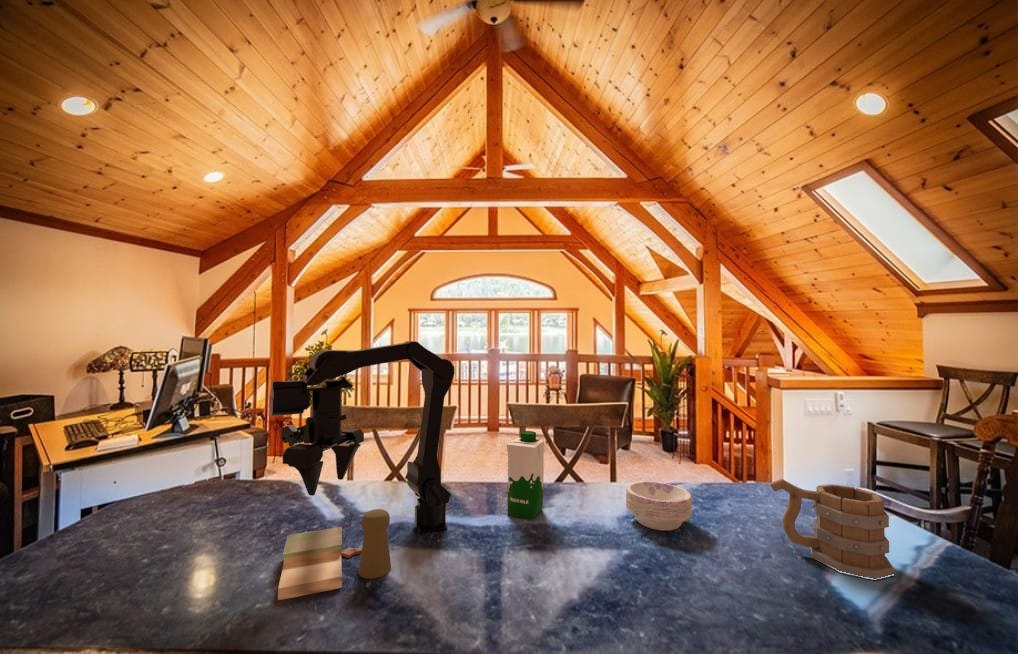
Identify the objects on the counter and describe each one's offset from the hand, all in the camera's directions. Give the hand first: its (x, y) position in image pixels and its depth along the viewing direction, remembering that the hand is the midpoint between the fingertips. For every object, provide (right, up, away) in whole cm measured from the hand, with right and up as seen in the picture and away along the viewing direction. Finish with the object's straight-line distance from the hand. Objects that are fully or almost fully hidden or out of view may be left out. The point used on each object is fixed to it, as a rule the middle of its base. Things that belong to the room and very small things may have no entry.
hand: (326, 486), depth 87 cm
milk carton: (+42, -15, +21) cm, 49 cm away
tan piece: (+3, -13, -5) cm, 15 cm away
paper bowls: (+74, -15, +16) cm, 77 cm away
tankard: (+103, -15, 0) cm, 104 cm away
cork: (+12, -14, -6) cm, 19 cm away
